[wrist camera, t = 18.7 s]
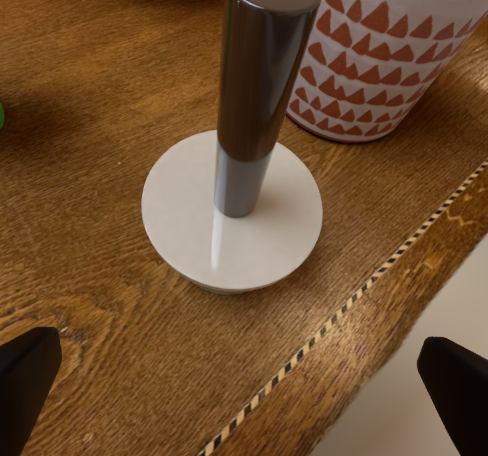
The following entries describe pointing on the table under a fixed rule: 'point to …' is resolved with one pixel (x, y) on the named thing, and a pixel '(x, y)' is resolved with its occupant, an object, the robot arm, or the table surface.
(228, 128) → the pole on white disc
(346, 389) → the table surface
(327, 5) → the planter
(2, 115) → the cup
